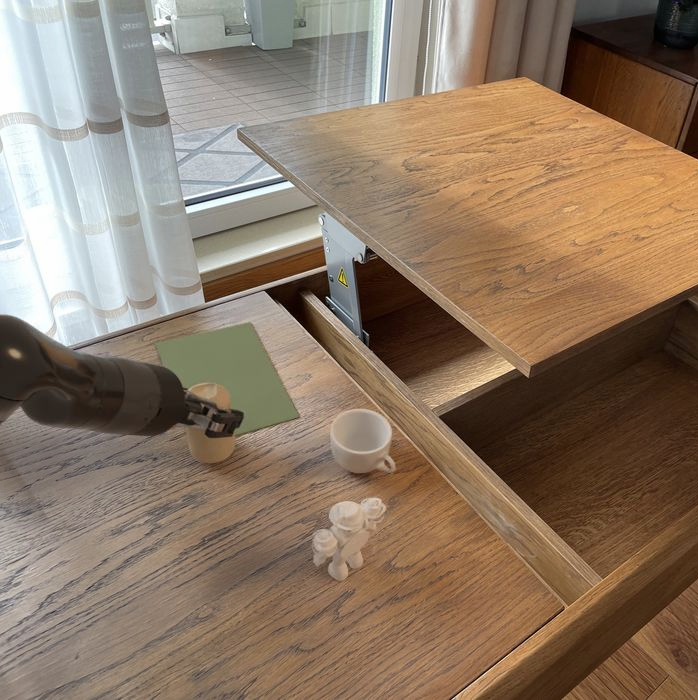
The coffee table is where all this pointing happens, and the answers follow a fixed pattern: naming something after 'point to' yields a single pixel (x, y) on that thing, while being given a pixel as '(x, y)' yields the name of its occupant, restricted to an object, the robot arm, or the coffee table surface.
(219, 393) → the candle
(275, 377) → the desk mat
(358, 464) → the teacup
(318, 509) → the coffee table surface
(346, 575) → the hat wearing toy figure
